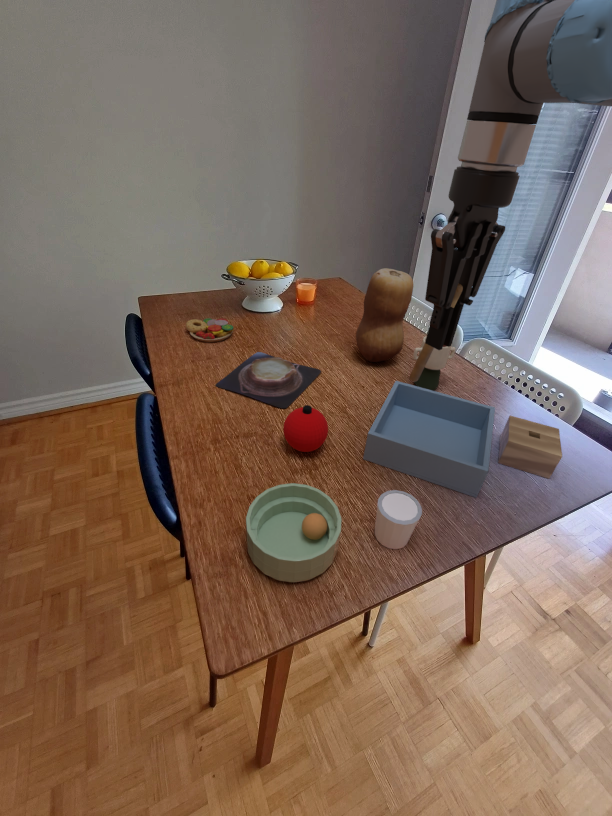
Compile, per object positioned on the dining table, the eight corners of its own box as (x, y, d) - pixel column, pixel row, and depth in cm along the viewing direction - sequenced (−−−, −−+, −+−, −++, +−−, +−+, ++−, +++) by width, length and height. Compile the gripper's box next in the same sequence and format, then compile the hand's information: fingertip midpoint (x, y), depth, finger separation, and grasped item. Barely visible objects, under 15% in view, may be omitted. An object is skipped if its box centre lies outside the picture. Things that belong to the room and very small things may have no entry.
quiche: (258, 352, 114) (258, 339, 112) (322, 371, 107) (323, 358, 105) (213, 385, 98) (212, 371, 96) (284, 411, 92) (285, 396, 89)
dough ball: (319, 508, 61) (336, 527, 61) (310, 507, 65) (326, 525, 65) (301, 527, 60) (318, 546, 60) (293, 525, 63) (310, 543, 64)
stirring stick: (418, 381, 68) (466, 285, 55) (413, 384, 67) (461, 287, 55) (411, 376, 69) (457, 280, 56) (406, 379, 68) (451, 282, 55)
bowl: (315, 601, 55) (319, 577, 52) (229, 560, 60) (227, 535, 56) (349, 526, 66) (354, 502, 63) (274, 496, 70) (274, 472, 67)
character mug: (438, 378, 108) (451, 334, 101) (450, 392, 102) (465, 347, 95) (400, 379, 106) (411, 334, 99) (410, 394, 101) (422, 348, 93)
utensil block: (549, 479, 78) (562, 456, 75) (497, 463, 81) (508, 440, 78) (547, 450, 86) (559, 428, 82) (500, 436, 89) (509, 415, 85)
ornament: (283, 461, 78) (284, 421, 72) (282, 432, 85) (283, 393, 79) (328, 461, 79) (333, 421, 73) (323, 432, 86) (327, 394, 80)
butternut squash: (402, 371, 110) (423, 281, 95) (354, 368, 110) (367, 278, 95) (394, 348, 121) (412, 265, 107) (350, 345, 121) (362, 261, 106)
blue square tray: (476, 498, 73) (488, 471, 69) (362, 459, 80) (367, 433, 76) (485, 431, 90) (495, 407, 86) (390, 404, 96) (395, 380, 93)
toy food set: (182, 330, 123) (181, 320, 121) (221, 321, 130) (220, 312, 128) (201, 347, 114) (200, 337, 112) (241, 337, 121) (241, 327, 119)
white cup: (385, 558, 62) (394, 529, 58) (362, 524, 67) (369, 496, 63) (421, 544, 64) (431, 516, 60) (396, 512, 69) (404, 484, 65)
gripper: (494, 163, 54) (447, 326, 67) (424, 163, 46) (387, 345, 60) (548, 170, 49) (486, 343, 63) (479, 170, 42) (426, 367, 55)
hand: (438, 344), depth 61 cm, fingers closed on stirring stick, 1 cm apart
